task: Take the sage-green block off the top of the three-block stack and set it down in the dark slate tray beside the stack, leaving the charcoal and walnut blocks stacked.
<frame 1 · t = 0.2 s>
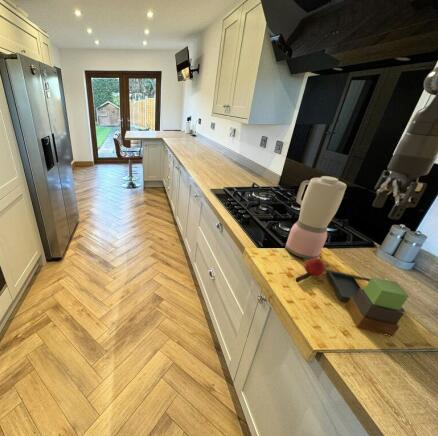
hand: (384, 212, 66), 29 cm above the worktop, tool pointing down, fingers open, 8 cm apart
tray: (359, 292, 78), on the worktop
charcoal block: (373, 310, 65), point 4 cm above the worktop, touching green block, walnut block
onion: (311, 276, 85), on the worktop
blender: (297, 250, 99), on the worktop
walnut block: (367, 320, 67), on the worktop, touching charcoal block
green block: (380, 300, 64), point 8 cm above the worktop, touching charcoal block
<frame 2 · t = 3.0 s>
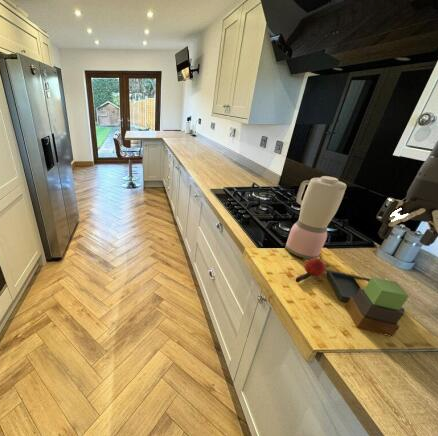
hand: (402, 240, 59), 25 cm above the worktop, tool pointing down, fingers open, 8 cm apart
nothing on the worktop moved.
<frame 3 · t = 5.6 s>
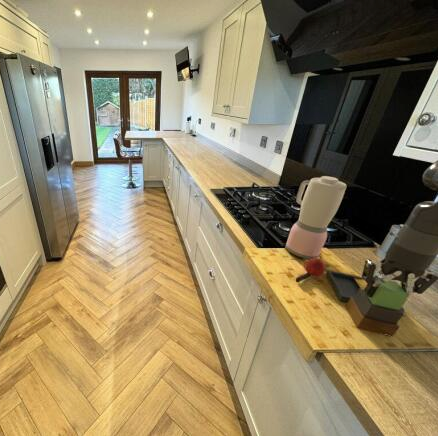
hand: (381, 297, 63), 9 cm above the worktop, tool pointing down, fingers closed on green block, 5 cm apart
green block: (380, 300, 64), point 8 cm above the worktop, touching charcoal block, gripper
everything else where it was.
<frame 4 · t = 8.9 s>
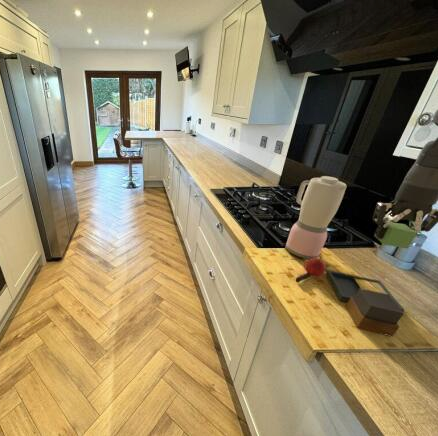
hand: (391, 239, 68), 21 cm above the worktop, tool pointing down, fingers closed on green block, 5 cm apart
charcoal block: (373, 310, 65), point 4 cm above the worktop, touching walnut block
green block: (390, 241, 68), point 20 cm above the worktop, touching gripper
everything else where it was.
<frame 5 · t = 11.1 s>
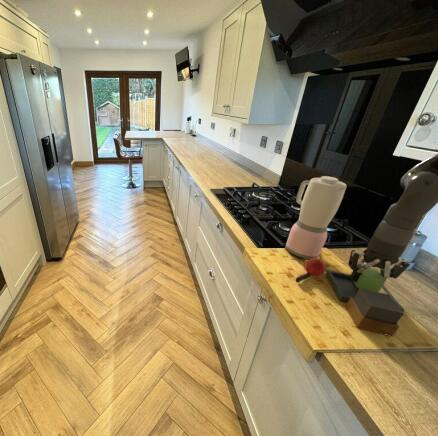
hand: (364, 282, 75), 4 cm above the worktop, tool pointing down, fingers closed on green block, 5 cm apart
green block: (363, 284, 76), point 4 cm above the worktop, touching gripper
everything else where it was.
when the fingers open (1 cm above the worktop, at t = 12.4 s): green block stays where it is, resting on tray.
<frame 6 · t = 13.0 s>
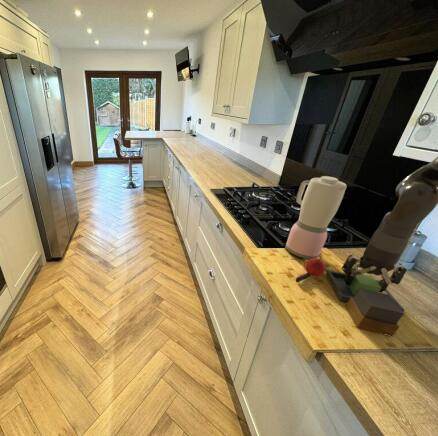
hand: (362, 287, 76), 2 cm above the worktop, tool pointing down, fingers open, 8 cm apart
green block: (359, 291, 77), point 1 cm above the worktop, touching tray
everything else where it was.
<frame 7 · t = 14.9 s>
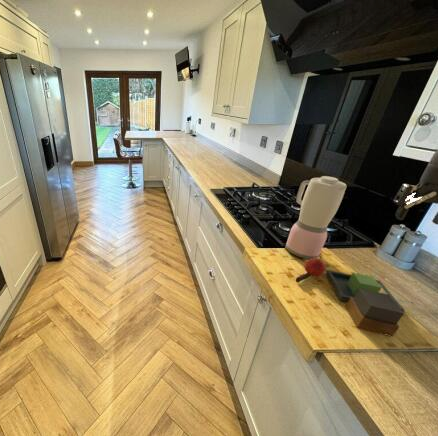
hand: (417, 221, 69), 26 cm above the worktop, tool pointing down, fingers open, 8 cm apart
nothing on the worktop moved.
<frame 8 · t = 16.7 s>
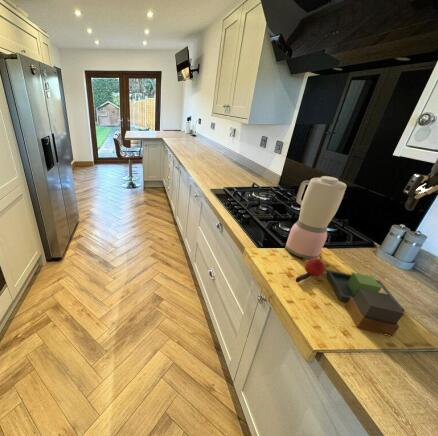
hand: (426, 212, 69), 28 cm above the worktop, tool pointing down, fingers open, 8 cm apart
nothing on the worktop moved.
at the end: green block inside the target area in the tray (0.1 cm from its centre), point 0.6 cm above the tray's base; charcoal block point 4.0 cm above the worktop; green block tilted 0° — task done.
